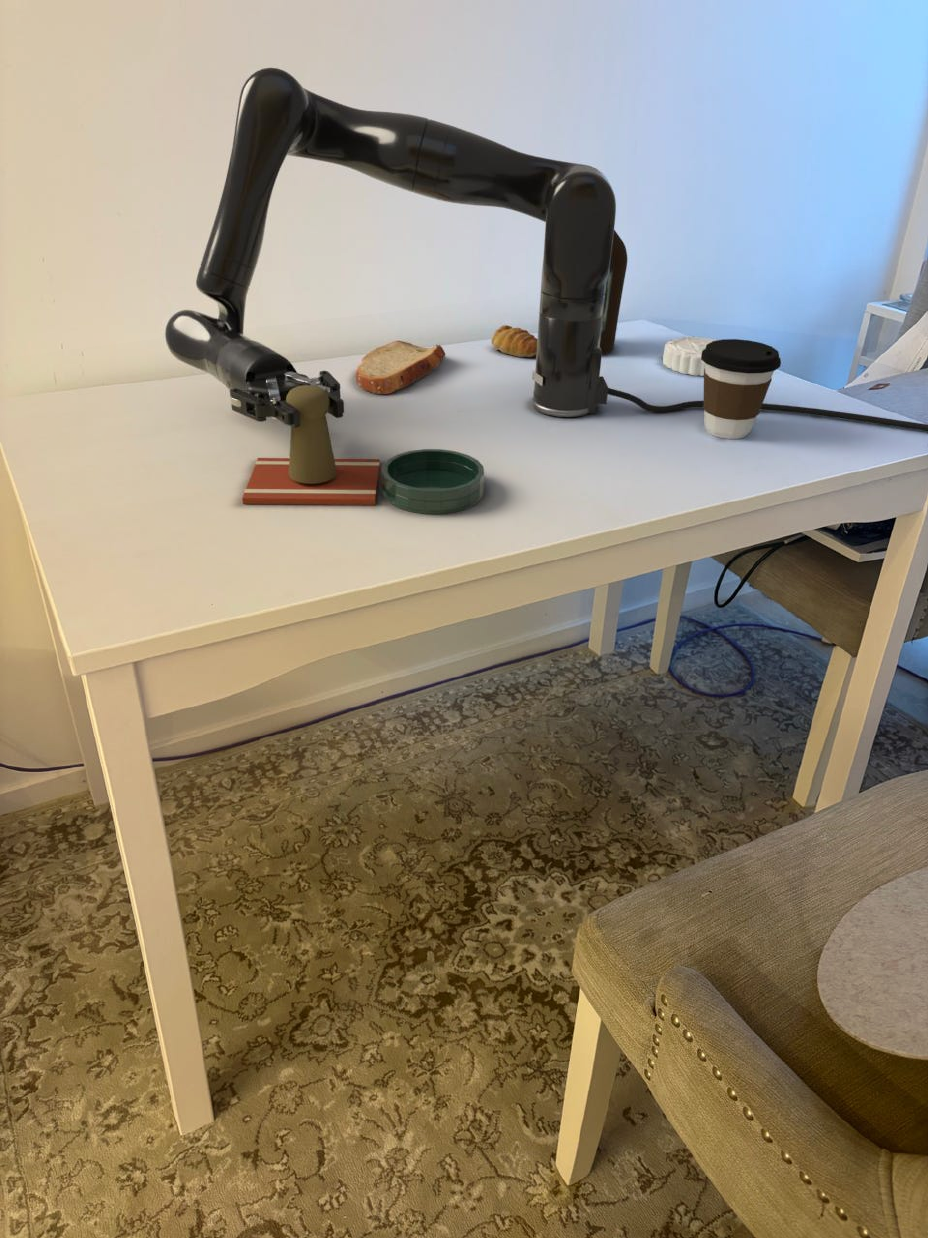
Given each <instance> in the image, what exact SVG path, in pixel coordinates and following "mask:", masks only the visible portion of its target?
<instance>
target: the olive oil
mask: <svg viewBox="0 0 928 1238" xmlns="http://www.w3.org/2000/svg"><path fill="white" fill-rule="evenodd" d="M627 266H628V251H627V248H626V244H625V243H624V241H623V239H622V238H621V236H620V235H619V234H618V232H617V231H616V230H615V229H614V235H613V243H612V251H611V260H610V268H609V274H608V278H607V283H606V291H605V299H604V309H603V318H602V328H601V338H600V348H601V350H602V356H603V355H608V354H610V353H612V352H613V351H614V349H615V342H616V337H617V335H616V334H617V328H618V322H619V315H620V308H621V302H622V297H623V292H624V291H623V290H624V285H625V279H626V274H627V273H626V272H627V268H628V267H627Z"/></svg>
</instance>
